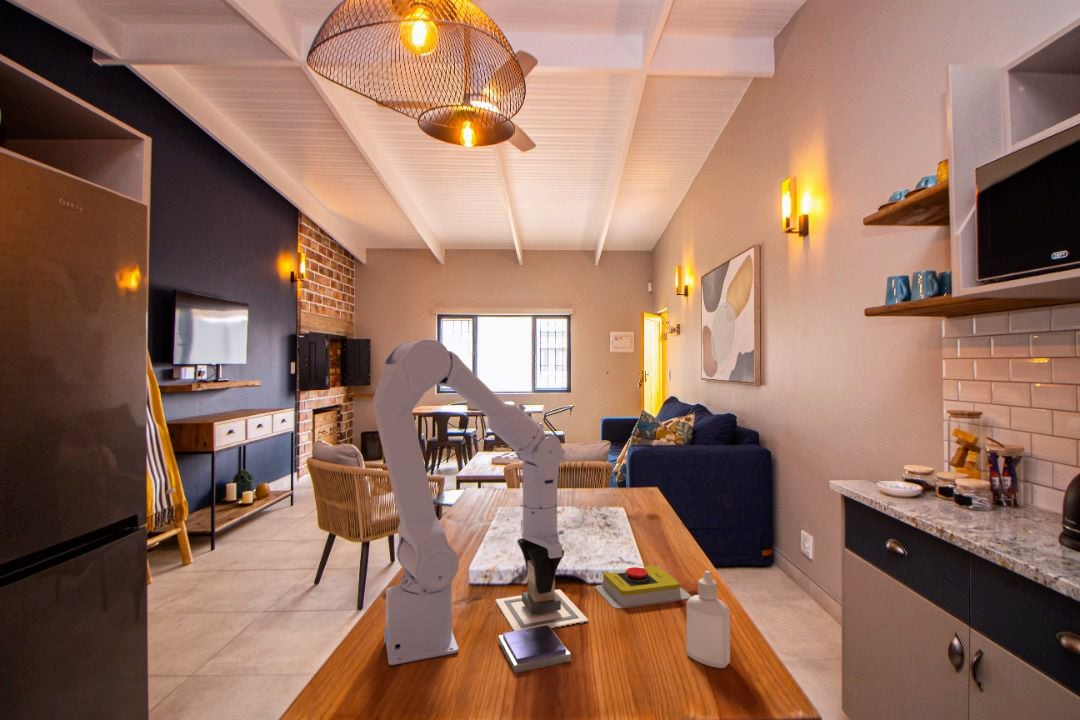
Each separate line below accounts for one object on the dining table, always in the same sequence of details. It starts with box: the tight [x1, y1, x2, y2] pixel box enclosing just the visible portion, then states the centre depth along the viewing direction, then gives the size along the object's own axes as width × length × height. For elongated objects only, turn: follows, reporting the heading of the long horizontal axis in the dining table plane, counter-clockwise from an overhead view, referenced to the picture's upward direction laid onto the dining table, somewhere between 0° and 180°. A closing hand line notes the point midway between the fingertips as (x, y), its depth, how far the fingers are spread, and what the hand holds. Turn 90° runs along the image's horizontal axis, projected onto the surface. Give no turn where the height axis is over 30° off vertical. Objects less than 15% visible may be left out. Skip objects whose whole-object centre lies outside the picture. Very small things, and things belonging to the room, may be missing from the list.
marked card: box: [495, 588, 590, 631], centre depth 84 cm, size 12×12×1 cm
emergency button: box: [595, 565, 692, 610], centre depth 92 cm, size 9×4×15 cm
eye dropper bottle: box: [685, 570, 731, 669], centre depth 71 cm, size 4×6×12 cm
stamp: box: [521, 560, 561, 615], centre depth 85 cm, size 5×5×7 cm
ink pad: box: [498, 625, 572, 674], centre depth 72 cm, size 8×8×2 cm
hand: (540, 587), depth 84 cm, fingers closed on stamp, 3 cm apart
